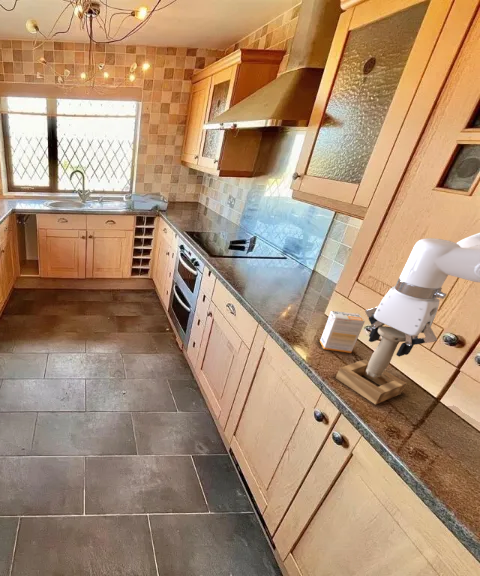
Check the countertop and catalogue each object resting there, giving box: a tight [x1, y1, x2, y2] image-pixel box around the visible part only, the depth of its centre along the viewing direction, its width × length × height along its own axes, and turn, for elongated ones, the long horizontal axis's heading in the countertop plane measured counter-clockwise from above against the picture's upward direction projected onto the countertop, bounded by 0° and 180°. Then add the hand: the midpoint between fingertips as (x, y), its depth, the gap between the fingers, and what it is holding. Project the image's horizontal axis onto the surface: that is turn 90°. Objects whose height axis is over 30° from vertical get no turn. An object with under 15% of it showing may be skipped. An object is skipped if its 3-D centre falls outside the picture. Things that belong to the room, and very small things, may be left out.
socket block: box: [335, 359, 408, 405], centre depth 89 cm, size 11×11×4 cm
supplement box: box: [319, 310, 366, 354], centre depth 104 cm, size 8×5×13 cm, turn 72°
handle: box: [366, 325, 406, 378], centre depth 85 cm, size 5×6×15 cm
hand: (386, 347), depth 84 cm, fingers closed on handle, 6 cm apart
